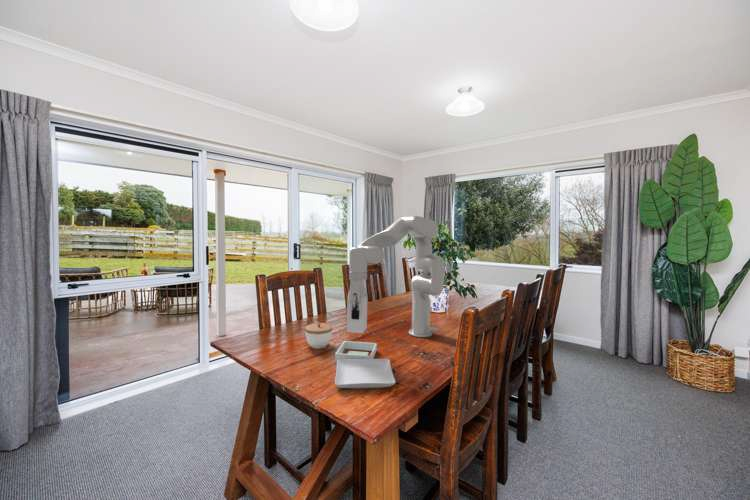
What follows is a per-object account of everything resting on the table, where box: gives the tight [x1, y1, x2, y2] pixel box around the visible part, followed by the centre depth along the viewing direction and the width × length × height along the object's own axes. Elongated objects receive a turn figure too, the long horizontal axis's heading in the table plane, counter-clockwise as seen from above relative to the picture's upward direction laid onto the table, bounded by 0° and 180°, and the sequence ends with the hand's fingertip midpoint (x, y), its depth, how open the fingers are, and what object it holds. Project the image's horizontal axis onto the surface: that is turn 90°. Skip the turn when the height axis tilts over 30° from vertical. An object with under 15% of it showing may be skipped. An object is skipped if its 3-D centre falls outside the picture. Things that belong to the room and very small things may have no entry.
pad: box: [346, 350, 370, 356], centre depth 140 cm, size 9×9×1 cm
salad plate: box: [334, 358, 396, 389], centre depth 120 cm, size 21×21×3 cm
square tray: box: [334, 340, 378, 363], centre depth 140 cm, size 15×15×4 cm
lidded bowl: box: [304, 322, 333, 350], centre depth 151 cm, size 13×13×11 cm
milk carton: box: [346, 287, 368, 334], centre depth 139 cm, size 7×7×19 cm
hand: (357, 316), depth 139 cm, fingers closed on milk carton, 7 cm apart
